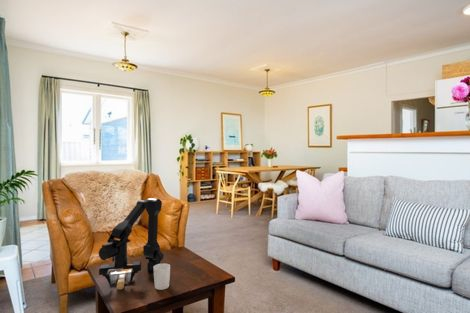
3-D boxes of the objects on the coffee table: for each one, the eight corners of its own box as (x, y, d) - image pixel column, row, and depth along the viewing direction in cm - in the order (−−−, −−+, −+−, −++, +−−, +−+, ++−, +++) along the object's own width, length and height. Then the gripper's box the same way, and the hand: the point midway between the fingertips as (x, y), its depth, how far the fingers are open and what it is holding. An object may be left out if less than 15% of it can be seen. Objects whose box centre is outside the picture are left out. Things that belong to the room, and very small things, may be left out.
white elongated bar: (119, 276, 158) (119, 270, 158) (126, 275, 159) (126, 269, 159) (116, 290, 142) (116, 283, 142) (123, 289, 143) (123, 282, 143)
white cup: (155, 283, 150) (155, 263, 150) (171, 282, 151) (171, 263, 150) (152, 290, 142) (152, 270, 142) (169, 290, 143) (169, 269, 142)
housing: (134, 275, 158) (134, 267, 158) (133, 281, 152) (133, 271, 152) (111, 278, 155) (111, 269, 155) (109, 283, 149) (109, 274, 149)
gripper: (141, 246, 154) (141, 276, 155) (101, 249, 149) (102, 280, 149) (141, 253, 143) (141, 286, 144) (98, 257, 138) (98, 290, 139)
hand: (120, 285), depth 144 cm, fingers open, 8 cm apart
